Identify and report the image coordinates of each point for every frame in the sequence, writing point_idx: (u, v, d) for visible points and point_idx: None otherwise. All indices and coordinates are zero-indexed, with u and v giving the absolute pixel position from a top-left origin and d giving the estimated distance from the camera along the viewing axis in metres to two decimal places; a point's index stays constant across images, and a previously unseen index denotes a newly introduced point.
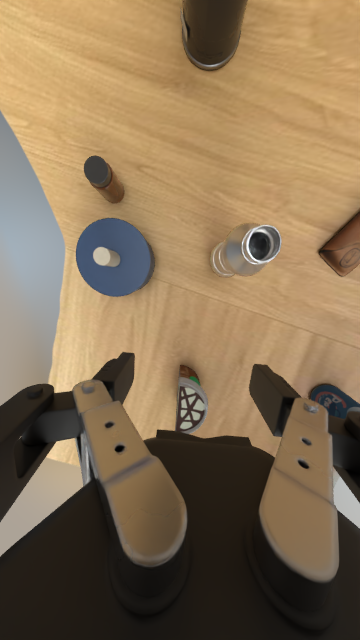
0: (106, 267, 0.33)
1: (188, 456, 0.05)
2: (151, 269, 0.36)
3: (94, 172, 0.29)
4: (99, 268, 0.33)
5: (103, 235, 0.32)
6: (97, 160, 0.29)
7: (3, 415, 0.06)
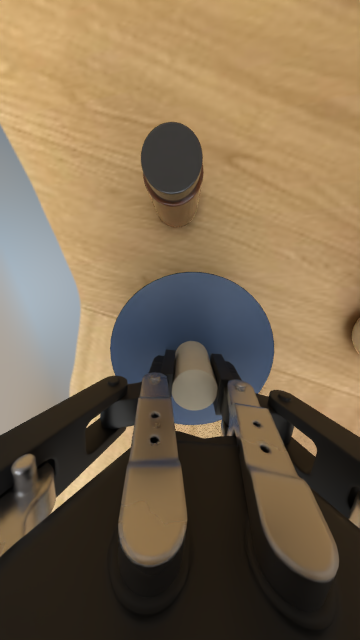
0: None
1: (188, 456, 0.05)
2: None
3: (167, 165, 0.12)
4: None
5: (175, 309, 0.14)
6: (177, 134, 0.11)
7: (86, 396, 0.07)
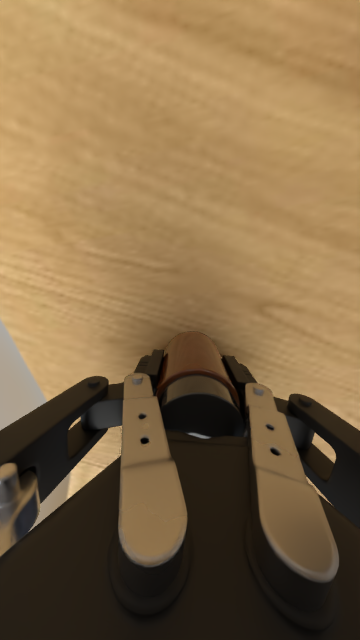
0: None
1: (188, 456, 0.05)
2: None
3: None
4: None
5: None
6: (208, 408, 0.07)
7: (66, 398, 0.07)
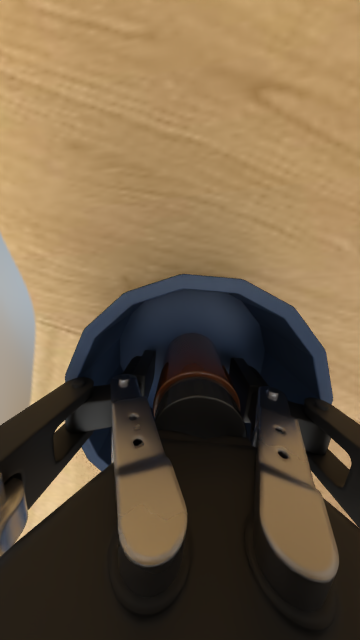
0: None
1: (188, 456, 0.05)
2: None
3: None
4: None
5: None
6: (209, 411, 0.07)
7: (49, 402, 0.07)
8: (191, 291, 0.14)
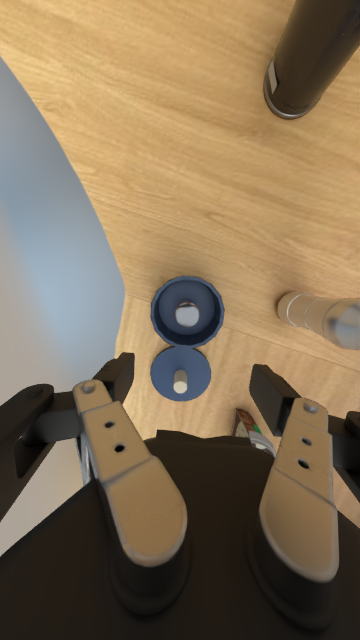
0: None
1: (188, 456, 0.05)
2: None
3: (185, 318, 0.30)
4: (169, 381, 0.41)
5: (174, 358, 0.39)
6: (189, 308, 0.30)
7: (3, 415, 0.06)
8: (186, 282, 0.36)
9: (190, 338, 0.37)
